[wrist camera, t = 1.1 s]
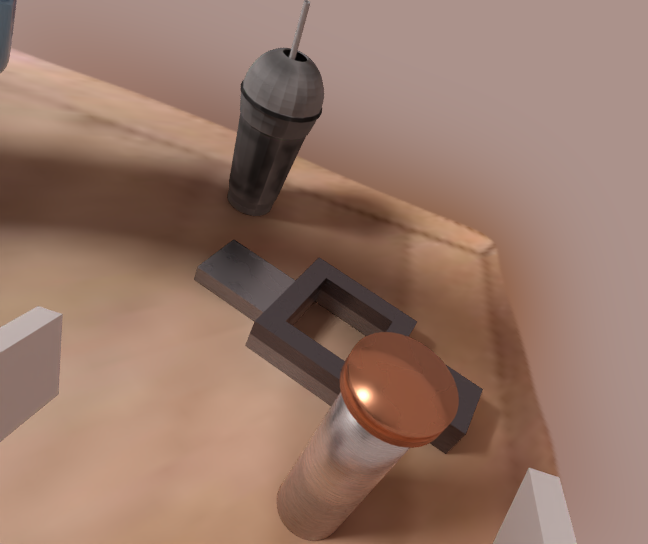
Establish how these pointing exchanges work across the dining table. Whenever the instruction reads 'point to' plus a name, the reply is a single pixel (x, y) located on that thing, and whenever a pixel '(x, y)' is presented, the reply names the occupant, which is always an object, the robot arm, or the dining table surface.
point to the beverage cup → (273, 123)
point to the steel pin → (367, 430)
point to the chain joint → (291, 303)
